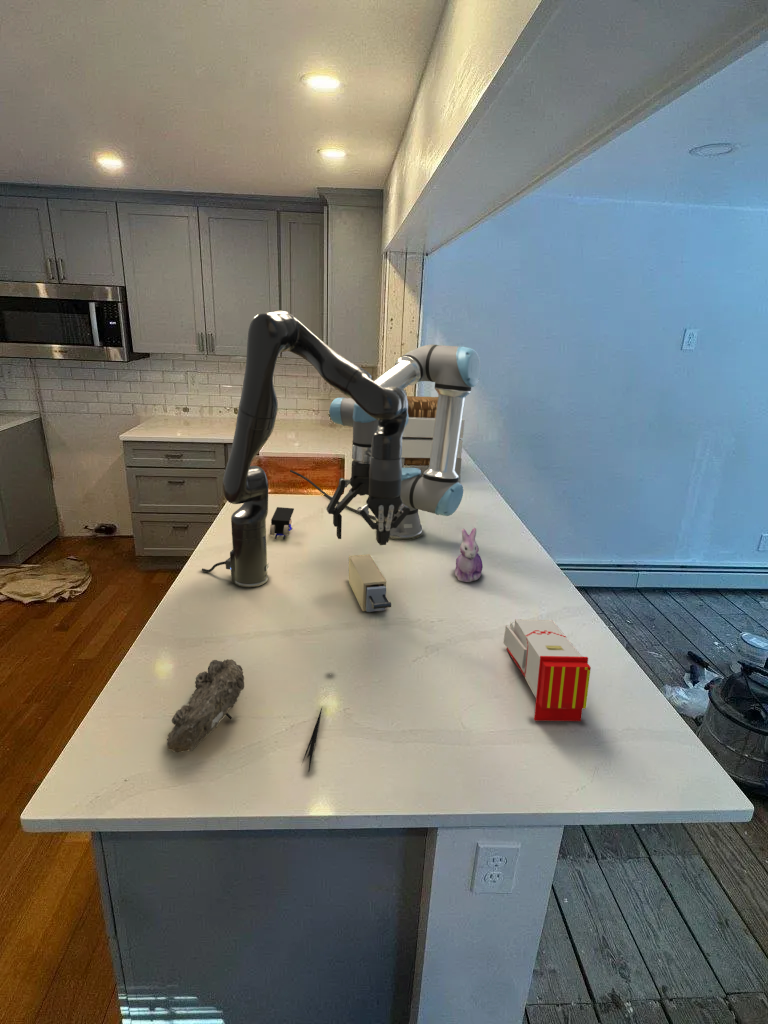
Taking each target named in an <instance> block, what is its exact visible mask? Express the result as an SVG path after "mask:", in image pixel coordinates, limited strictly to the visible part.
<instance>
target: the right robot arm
mask: <svg viewBox="0 0 768 1024" xmlns="http://www.w3.org/2000/svg"><path fill="white" fill-rule="evenodd" d="M481 373H482V365H481V359H480V356H479V353H478V352H477V351H476V350H475V349H474V348H471V347H467V346H462V345H460V346H459V345H457V346H456V345H444V344H443V345H441V344H425V345H421V346H419V347H416V348H414V349H412V350H410V351H408V352H406V353H405V354H403V355H402V356H400V357H399V358H397V360H396V361H395V363H394V365H393V366H392V367H390V368H389V369H387V370H386V371H384V372H383V373H382V374H380V375H379V376H378V377H376V378H374V379H372V380H373V381H374V382H376V383H377V384H378V385H380V386H381V387H383V388H388V387H398V388H400V389H402V390H403V389H404V390H405V389H407V388H408V387H409V386H415V385H416V384H418V383H419V382H431V383H434V390H435V391H436V393H437V397H438V402H437V409H436V417H435V425H434V433H433V440H432V448H431V456H430V463H429V465H428V468H427V469H426V470H424V471H423V475H422V470H421V468H419V467H404V468H402V478H401V495H400V497H401V500H402V503H403V504H404V505H406V506H408V507H409V509H410V512H409V513H408V514H407V515H406V517H405V518H404V519H403V520H402V522H401V523H400V524H399V525H398V526H397V528H392V529H390V531H389V540H395V541H410V540H415V539H418V538H420V537H421V536H422V535H423V525H422V524H421V518H420V515H419V510H420V511H423V512H426V513H431V514H433V515H434V514H435V515H436V516H443V517H450V516H452V515H453V514H454V513H456V511H457V509H458V508H459V507H460V504H461V502H462V500H463V496H464V486H463V484H462V483H461V482H459V483H458V478H459V476H458V475H457V473H456V472H455V466H456V459H457V452H458V445H459V438H460V430H461V423H462V419H463V416H464V415H463V414H464V408H465V403H466V402H465V401H466V397H467V396H468V395H469V394H471V392H472V388H473V387H474V388H475V387H477V385H478V384H479V382H480V381H479V380H481V375H482V374H481ZM328 411H329V417H330V420H331V421H332V422H333V423H334V424H336V425H341V426H343V427H351V428H352V444H351V445H352V446H351V447H352V448H351V459H352V461H351V473H350V474H351V475H350V478H348V479H346V478H344V477H339V479H338V485H337V488H336V490H335V491H334V493H333V495H332V496H331V495H329V494H328V493H326V492H325V491H324V490H322V489H321V488H320V487H319V486H317V485H316V483H314V482H313V481H311V480H310V479H309V478H307V477H306V476H304V475H303V474H301V473H299V472H297V471H295V470H292V469H289V472H290V473H292V474H293V475H296V476H298V477H300V478H302V479H303V480H305V481H306V482H307V483H309V484H310V485H312V486H313V487H314V488H315V489H316V490H318V492H320V493H321V494H322V495H324V496H325V497H326V498H327V499H329V500H330V501H329V502H328V505H327V507H326V512H327V513H328V514H329V515H332V524H333V527H335V528H336V537H337V539H338V540H342V529H343V528H342V527H343V526H342V525H343V523H342V522H343V516H342V514H341V513H342V512H343V511H344V510H345V509H347V510H349V511H351V512H354V513H356V514H359V515H360V513H359V512H358V510H357V509H356V508H353V507H352V506H351V507H350V506H349V504H350V503H351V502H352V501H353V499H355V498H356V497H357V496H369V469H370V460H371V445H372V436H373V433H374V432H375V431H376V429H377V426H378V420H376V419H374V418H373V417H371V416H370V415H368V414H367V413H366V412H365V411H364V410H363V409H362V408H361V407H360V406H358V405H357V404H356V402H355V401H354V400H353V399H351V398H349V397H347V398H346V397H344V396H343V397H336V398H334V399H333V400H332V401H331V403H330V405H329V410H328ZM408 419H409V416H408V413H407V419H406V424H405V427H406V425H407V423H408ZM460 439H461V438H460ZM349 485H350V489H349V490H348V492H347V493H346V495H345V496H344V497H343V498H342V499H341V497H342V496H343V494H344V492H345V489H346V488H347V487H348V486H349ZM398 509H399V508H398ZM397 512H398V510H397V511H396V512H395V514H394V515H393V516H392V518H393V517H394V516H395V515H396V513H397ZM368 516H369V517H370V518H371V520H376V519H375V515H372V514H370V513H369V514H368Z"/></svg>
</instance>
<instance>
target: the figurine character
mask: <svg viewBox="0 0 768 1024" xmlns="http://www.w3.org/2000/svg"><path fill="white" fill-rule="evenodd" d="M294 511H295V508H294V507H292V508H291V507H280V506H276V508H275V511H274V513H273V515H272V517H271V519H270V526H269V535H270V536H274V537H273V539H274V540H277V539H278V537H282V540H286V537H287V536H288V535H289V534H290V531H292V530H293V527H292V515H293V514H294Z"/></svg>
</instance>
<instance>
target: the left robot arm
mask: <svg viewBox="0 0 768 1024" xmlns="http://www.w3.org/2000/svg"><path fill="white" fill-rule="evenodd" d="M285 352H290V353H293V354H294V355H296V356H299V357H301V358H302V359H304V360H305V361H307V362H308V363H309V364H310V365H311V366H312V367H313V368H314V369H315V370H316V372H317V373H318V374H319V376H320V377H321V378H322V379H323V380H324V381H325V382H326V383H327V384H328V385H329V386H331V387H332V388H334V389H335V390H337V391H338V392H340V393H342V394H343V395H344V396H345V397H347V398H351V399H353V400H354V401H355V402H356V404H357V405H358V406H360V407H361V408H362V409H363V410H364V411H365V412H366V413H367V414H368V415H370V416H371V417H373V418H374V419H376V420H378V426H377V429H376V431H375V432H374V433H373V436H372V445H371V460H370V469H369V495H367V496H368V497H367V499H366V502H365V504H364V505H363V506H359V507H357V509H356V510H358V512H359V513H360V514H359V515H360V516H361V518H363V519H364V521H365V522H366V524H367V525H368V526H369V527H370V528H371V529H372V530H376V532H375V540H376V543H378V545H379V546H387V543H389V541H390V538H389V531H390V529H392V528H397V526H398V525H399V524H400V523H401V522H402V520H403V519H404V518H405V517H406V515H407V514H408V513H409V512H410V509H409V507H408V506H406V505H404V504H403V503H402V500H401V497H400V495H401V478H402V436H403V432H404V428H405V424H406V419H407V413H408V400H407V396H408V395H407V396H406V394H405V393H404V391H403V390H402V389H400V388H398V387H388V388H383V387H381V386H380V385H378V384H377V383H376V382H374V381H373V380H374V379H373V376H372V375H371V373H370V372H368V371H367V370H366V369H364V368H362V367H361V366H360V365H357V364H356V363H355V362H353V361H352V360H350V359H348V358H347V357H345V356H343V355H342V354H341V353H339V352H337V350H335V349H333V348H332V347H331V346H330V345H328V344H327V343H326V342H324V341H323V340H322V339H321V338H320V337H318V336H317V335H316V334H315V333H313V332H312V331H311V330H310V329H309V328H307V326H306V325H304V324H303V323H302V322H301V320H299V319H298V318H297V317H295V316H294V315H293V314H292V313H290V312H289V311H287V310H281V309H276V310H271V311H266V312H265V311H264V312H261V313H258V314H257V315H255V316H254V317H252V319H251V321H250V324H249V327H248V331H247V342H246V359H245V370H244V376H243V382H242V389H241V394H240V395H241V396H240V399H239V404H238V411H237V415H236V423H235V430H234V434H233V440H232V445H231V449H230V452H229V456H228V460H227V463H226V466H225V470H224V473H223V478H222V492H223V496H224V498H225V499H226V501H227V502H228V503H230V504H232V505H240V504H242V505H241V506H240V507H239V508H238V509H236V510H235V511H234V512H233V513H232V514H231V517H230V523H231V524H230V525H231V541H232V544H231V545H232V549H231V551H229V557H228V558H227V559H225V560H224V561H220V562H216V563H215V564H213V565H212V566H211V568H209V569H207V568H203V567H202V569H201V572H205V573H211V572H213V571H214V569H215V568H217V567H218V566H222V565H225V569H226V570H230V579H231V580H230V581H231V584H235V585H236V586H238V587H242V588H256V587H261V586H262V585H264V584H266V583H267V582H268V580H269V575H268V569H269V563H268V553H267V552H268V551H267V517H268V514H269V481H268V476H267V474H266V472H265V470H264V469H263V468H262V467H260V466H259V465H252V463H253V460H254V459H255V457H256V456H257V455H258V453H259V452H260V451H261V449H262V448H263V447H264V446H265V444H266V443H267V441H268V440H269V439H270V437H271V436H272V434H273V432H274V428H275V424H276V419H277V415H278V409H279V403H278V398H277V393H276V390H275V385H274V375H275V374H274V373H275V370H276V369H275V368H276V364H277V360H278V357H279V355H280V353H285ZM398 508H399V509H398ZM369 510H370V511H369ZM397 510H398V512H397V513H396V515H395V516H394V517H393V518H392V516H393V515H394V514H395V512H396V511H397ZM370 512H372V514H373V516H375V519H374V520H375V521H373V519H372V518H370V517H369V516H368V514H369V515H370Z"/></svg>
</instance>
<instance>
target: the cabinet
mask: <svg viewBox="0 0 768 1024" xmlns="http://www.w3.org/2000/svg"><path fill="white" fill-rule="evenodd" d="M347 581H348V584H349V586H350V588H351V590H352V592H353V594H354V596H355V599H356V600H357V603H358V604H359V606H360V609H361V611H362V612H367V611H366V585H376V584H381V586H385V587H386V588H387V580H386V578H385V576H384V575H383V573H382V571H381V570H380V568H379V567H378V565H377V564H376V562H375V560H374V559H373V557H372V555H371V554H370V553H367V554H354V555H348V580H347Z"/></svg>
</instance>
